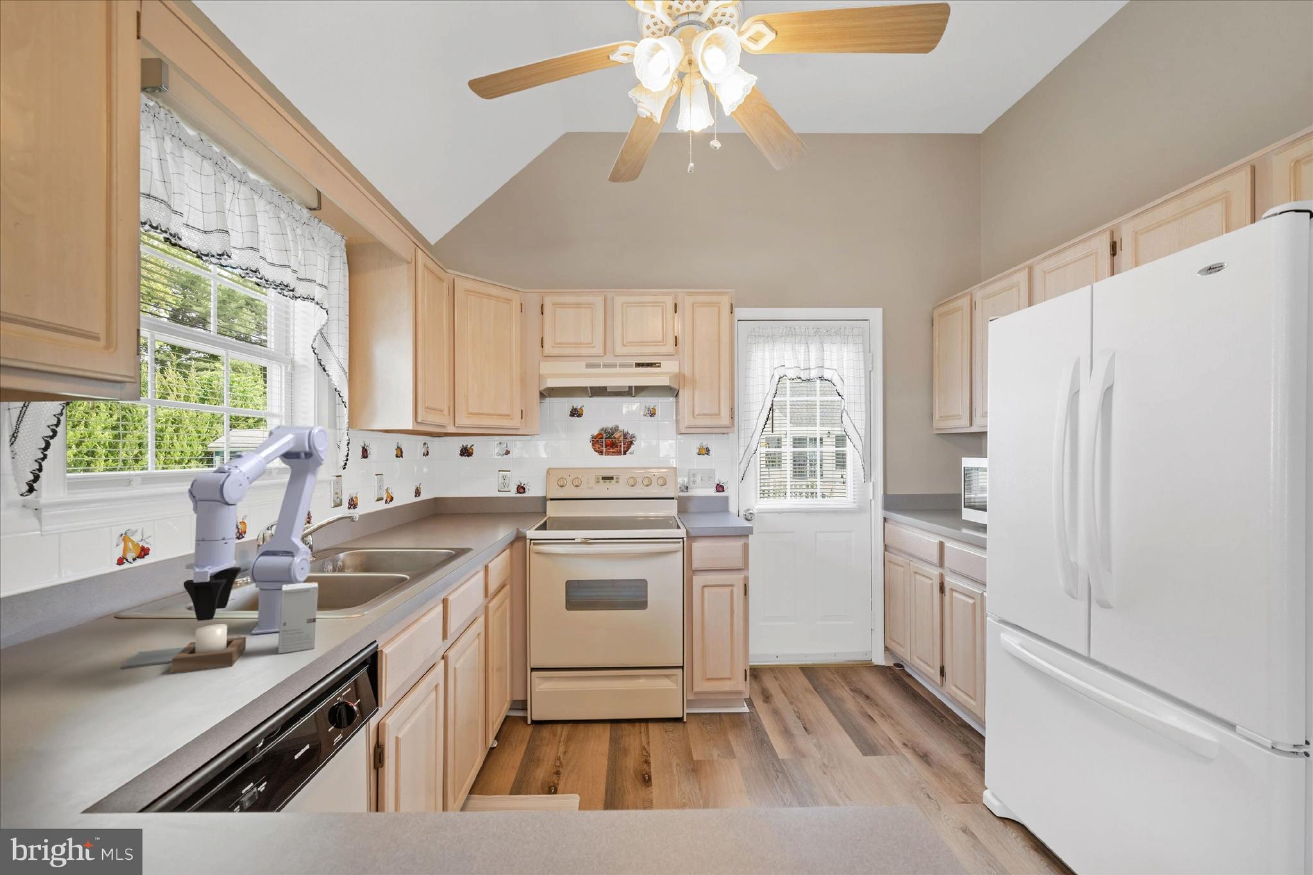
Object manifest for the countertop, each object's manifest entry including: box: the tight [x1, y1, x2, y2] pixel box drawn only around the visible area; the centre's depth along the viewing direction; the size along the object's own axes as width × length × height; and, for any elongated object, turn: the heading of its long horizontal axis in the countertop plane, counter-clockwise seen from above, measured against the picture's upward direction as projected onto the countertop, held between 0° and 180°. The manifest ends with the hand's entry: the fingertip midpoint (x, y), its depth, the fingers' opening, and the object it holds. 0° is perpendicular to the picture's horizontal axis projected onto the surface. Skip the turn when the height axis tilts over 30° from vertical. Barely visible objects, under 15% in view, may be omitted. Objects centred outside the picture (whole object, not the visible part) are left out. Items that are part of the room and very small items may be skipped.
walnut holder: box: [171, 636, 247, 675], centre depth 98 cm, size 8×8×2 cm
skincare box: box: [277, 581, 319, 654], centre depth 105 cm, size 6×4×12 cm
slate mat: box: [120, 646, 186, 669], centre depth 99 cm, size 7×7×1 cm
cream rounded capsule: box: [194, 623, 228, 654], centre depth 98 cm, size 4×4×6 cm
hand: (212, 613), depth 98 cm, fingers open, 7 cm apart
